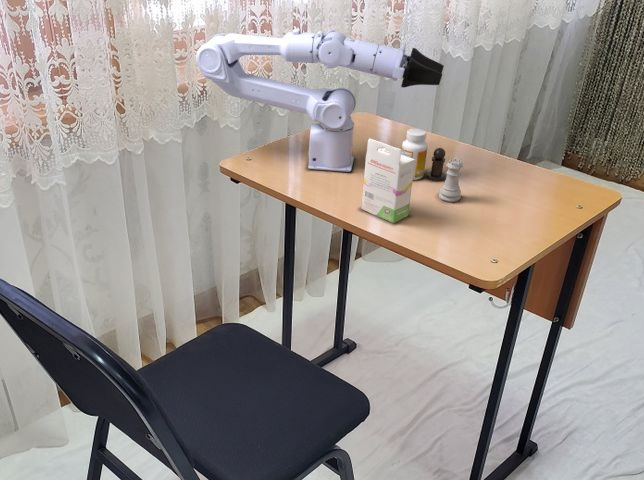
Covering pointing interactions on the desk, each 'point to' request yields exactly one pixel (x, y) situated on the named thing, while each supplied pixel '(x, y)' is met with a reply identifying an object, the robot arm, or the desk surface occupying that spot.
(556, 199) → the desk surface
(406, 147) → the supplement bottle
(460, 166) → the rook chess piece
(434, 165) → the ebony pawn
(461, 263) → the desk surface
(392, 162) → the ink box
